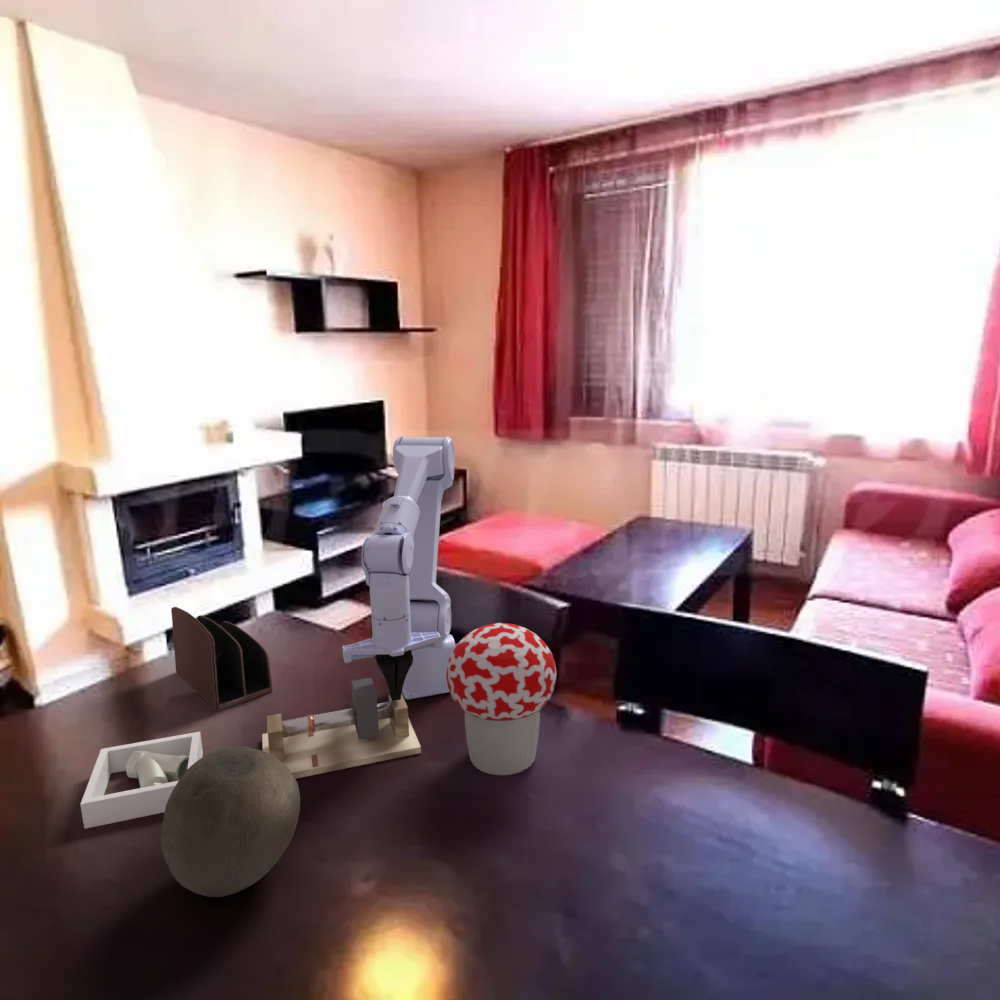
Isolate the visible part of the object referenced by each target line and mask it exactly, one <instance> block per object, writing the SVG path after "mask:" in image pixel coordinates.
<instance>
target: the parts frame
mask: <svg viewBox="0 0 1000 1000" xmlns="http://www.w3.org/2000/svg"><path fill="white" fill-rule="evenodd" d="M201 735H202V734H201V731H195V732H191V733H190V732H189V733H185V734H178V735H173V736H167V737H161V738H156V739H151V740H144V741H139V742H133V743H128V744H127V743H126V744H121V745H117V746H110V747H105V748H101V749H100V750H99V754H98V757H97V759H96V761H95V764H94V766H93V770H92V773H91V775H90V778H89V779H88V780H89V781H88V783H87V786H86V788H85V791H84V794H83V796H82V799H81V802H80V803H79V804H80V810H81V811H80V812H81V817H82V821H83V828H84V830H85V829H90V828H94V827H99V826H104V825H110V824H114V823H115V824H116V823H118V822H119V823H120V822H123V821H129V820H133V819H137V818H143V817H144V818H145V817H148V816H152V815H153V816H154V815H157V814H162V813H163V814H164V812H165V807H166V804H167V801H168V799H169V797H170V795H171V793H172V791H173V789H174V788H175V786H176V784H177V783H178V781H174V782H168V783H164V784H159V785H154V786H148V787H143V788H140V787H139V788H134V789H130V790H129V789H128V790H124V791H119V792H115V793H109V794H106V790H107V787H108V785H109V784H108V783H109V781H110V778H111V775H112V774H115V773H120V772H126V763H127V761H128V758H129V757H130V755H131V754H132V753H133V752H134V751H140V750H145V751H151V753H157V754H165V755H173V756H179V755H185V756H189V762H188V768H189V767H190V766H192V765H193V764H194V763H195V762H196V761H198V760H199V759H201V758H202V757H203V754H204V751H203V744H202V743H203V742H202V736H201ZM188 768H187V769H188Z"/></svg>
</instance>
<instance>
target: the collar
mask: <svg viewBox="0 0 1000 1000" xmlns="http://www.w3.org/2000/svg"><path fill="white" fill-rule="evenodd" d="M350 684H351V696H352V697H351V698H352V708H355V709H356V715H357V724H355V727H356V731H357V735H358V738H359V739H364V738H369V737H374V736H379V724H378V707H377V704H378V693H377V690H376V688H375V687H376V686H375V685H374V682H373V679H372V677H367V678H359V679H354V680H351V682H350Z"/></svg>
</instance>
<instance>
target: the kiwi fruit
mask: <svg viewBox="0 0 1000 1000" xmlns="http://www.w3.org/2000/svg"><path fill="white" fill-rule="evenodd" d="M300 794H301V793H300V789H299V784H298V781H297V780H296V779H295V778H294V776H293V775H292V773H291V772H290V770H289V769H288V767H287V766H286V765H285V764H284V763H283V762H281V761H280V760H279V759H277V758H276V757H274V756H272V755H270V754H269V753H267V752H264V751H263V750H261V749H257V748H252V747H248V746H244V745H233V746H225V747H222V748H219V749H216V750H214V751H211V752H210V753H207V754H205V755H204V756H202V758H201V759H199V760H198V761H196V762H195V763H194V764H193V765H192V766H190V767H189V768H188V769H187V771H186V772H185V773H184V774H183V775H182V777H181V778H180V779H179V781H178V783H177V784H176V786H175V788H174V789H173V791H172V793H171V795H170V797H169V799H168V801H167V804H166V807H165V812H163V814H164V815H163V820H162V824H161V825H162V826H161V833H160V834H161V835H160V845H161V851H162V855H163V857H164V860H165V862H166V864H167V866H168V868H169V871H170V873H171V874H172V877H174V879H175V880H176V881H177V882H178V883H179V884H180V885H181V886H182V887H184V888H185V889H187V890H189V891H191V892H192V893H194V894H197V895H199V896H200V895H201V896H205V897H208V898H209V897H210V898H222V897H228V896H231V895H234V894H236V893H239V892H241V891H243V890H246V889H247V888H249V887H251V886H253V885H254V884H255V883H257V882H259V880H261V879H262V878H264V876H266V875H267V874H268V873H269V872H270V871H271V870H272V868H274V866H275V865H277V862H278V861H279V860H280V859H281V858H282V857H283V855H284V853H286V850H287V849H288V847H289V846H290V843H291V842H292V839H293V838H294V835H295V832H296V829H297V824H298V821H299V817H300V810H301V795H300Z"/></svg>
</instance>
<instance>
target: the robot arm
mask: <svg viewBox="0 0 1000 1000" xmlns="http://www.w3.org/2000/svg"><path fill="white" fill-rule="evenodd" d="M392 461H393V465H394V468H395V469H396V470H395V471H396V473H397V479H396V485H395V489H394V493H393V496H392V497H389V498H387V499H386V500H385V501H384V503H383V506H382V509H381V512H380V515H379V518H378V521H377V524H376V526H375V529H374V532H373V533H372V534H371V535H369V537H366V538H365V539H364V541H363V544H362V548H361V566H362V570H363V572H364V575H365V583H366V586H368V587H369V596H370V597H369V599H370V613H371V615H370V616H371V631H372V632H371V633H372V638H367V639H364V640H361V641H358V642H354V643H351V644H347V645H342V646H341V648H342V658H343V662H344V664H348V663H352V662H353V661H354V660H360V659H367V658H368V659H369V658H374V659H375V661H376V663H377V667H378V668H379V669H380V671H381V673H382V675H383V676H384V679H385V681H386V683H387V688H388V693H389V694H388V695H390V698H391V700H392V701H395V700H400V699H401V694H402V695H403V698H404V700H413V699H419V698H423V697H430V696H435V695H440V694H445V693H450V691H449V688H448V685H447V678H446V676H447V664H448V661H449V658H450V655H451V653H452V651H453V650H454V648H455V646H456V645H457V644H456V642H455V639H454V636H453V635H452V634H450V632H451V627H452V609H451V603H452V600H451V598H450V595H449V593H448V592H446V591H445V589H443V588H442V587H441V586H440V585H438V584H437V569H438V568H437V567H438V554H439V543H440V541H439V539H440V526H441V523H440V522H441V510H442V508H441V507H442V501H443V495H444V491H446V490H447V489H449V488H451V487H453V481H454V479H455V466H456V465H455V464H456V463H455V462H456V450H455V443H454V440H453V439H452V438H451V437H450V436H445V437H443V436H442V437H432V436H431V437H430V436H427V437H426V436H425V437H422V436H421V437H420V436H419V437H417V436H416V437H415V436H413V437H411V436H408V437H407V436H406V437H404V436H402V435H401V436H398V437H397V438H396V440H395V441H394V444H393V446H392ZM412 600H413V601H412ZM414 600H415V601H414ZM416 600H417V601H416ZM419 601H421V602H419ZM422 601H436V602H422Z"/></svg>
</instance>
